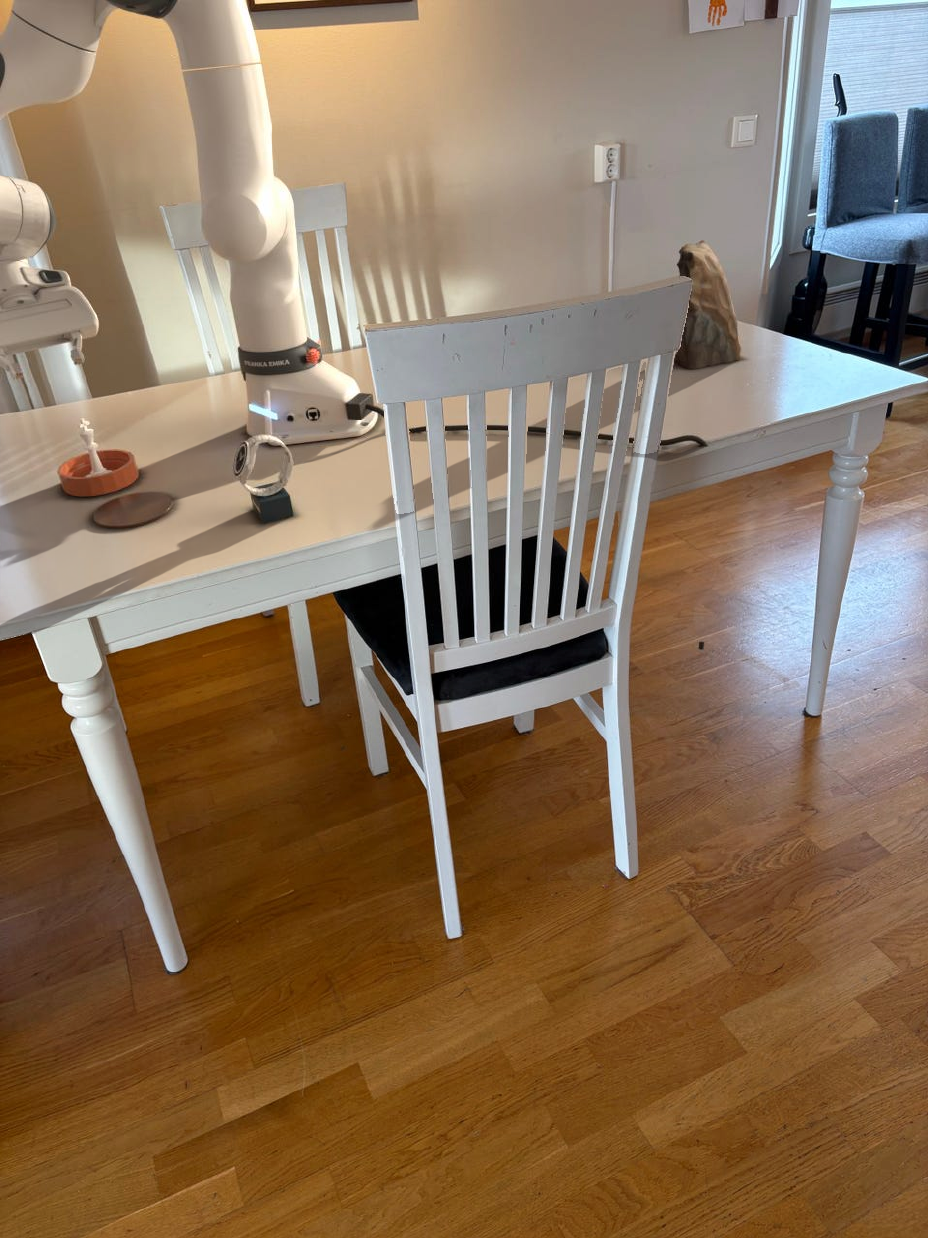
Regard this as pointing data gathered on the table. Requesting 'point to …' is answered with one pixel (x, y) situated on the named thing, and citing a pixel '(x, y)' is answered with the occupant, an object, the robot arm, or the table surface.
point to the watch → (271, 497)
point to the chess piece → (91, 449)
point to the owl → (707, 311)
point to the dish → (80, 467)
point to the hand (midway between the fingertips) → (49, 369)
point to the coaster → (133, 510)
